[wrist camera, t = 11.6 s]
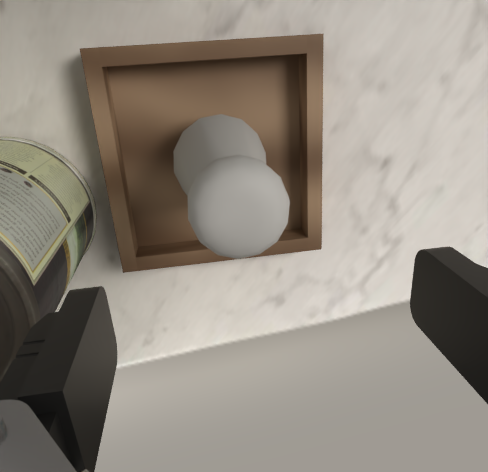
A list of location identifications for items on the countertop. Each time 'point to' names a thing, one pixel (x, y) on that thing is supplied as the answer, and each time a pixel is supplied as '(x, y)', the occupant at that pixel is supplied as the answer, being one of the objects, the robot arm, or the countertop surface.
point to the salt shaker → (230, 187)
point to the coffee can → (37, 236)
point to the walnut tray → (189, 111)
